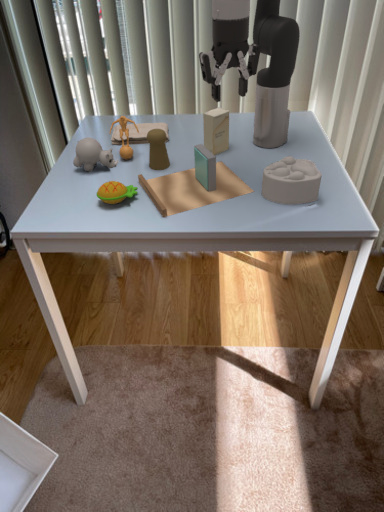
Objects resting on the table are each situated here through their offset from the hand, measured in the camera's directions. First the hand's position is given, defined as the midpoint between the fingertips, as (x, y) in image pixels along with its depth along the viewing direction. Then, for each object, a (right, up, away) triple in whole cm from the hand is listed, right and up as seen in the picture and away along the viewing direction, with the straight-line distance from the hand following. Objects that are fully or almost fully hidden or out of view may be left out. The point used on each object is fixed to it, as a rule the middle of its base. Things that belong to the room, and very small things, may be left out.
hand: (229, 97), depth 94 cm
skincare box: (-1, -6, +27) cm, 27 cm away
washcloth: (-25, +2, +38) cm, 46 cm away
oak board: (-8, -19, +11) cm, 24 cm away
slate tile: (-5, -18, +11) cm, 22 cm away
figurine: (-27, -7, +27) cm, 39 cm away
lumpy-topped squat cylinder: (+15, -22, +7) cm, 27 cm away
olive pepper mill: (-17, -12, +21) cm, 30 cm away
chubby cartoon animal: (-35, -11, +23) cm, 43 cm away
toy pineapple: (-27, -23, +9) cm, 36 cm away
